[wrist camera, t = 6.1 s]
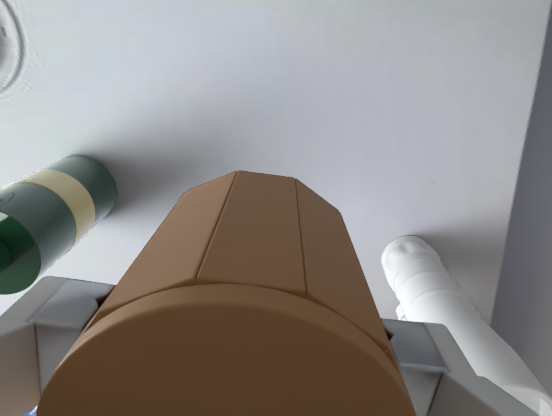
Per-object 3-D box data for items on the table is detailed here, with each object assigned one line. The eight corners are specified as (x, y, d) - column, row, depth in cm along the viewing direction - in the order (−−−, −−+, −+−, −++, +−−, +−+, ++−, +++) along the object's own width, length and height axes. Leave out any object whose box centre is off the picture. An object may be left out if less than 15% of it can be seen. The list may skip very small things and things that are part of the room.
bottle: (45, 150, 34) (-159, 236, 19) (117, 160, 35) (-24, 253, 19) (50, 215, 37) (-129, 342, 21) (117, 225, 37) (-9, 357, 21)
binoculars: (379, 231, 36) (459, 385, 20) (440, 231, 36) (573, 386, 20) (366, 379, 43) (419, 592, 26) (418, 379, 43) (505, 593, 26)
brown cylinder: (157, 159, 10) (14, 275, 5) (373, 187, 11) (475, 331, 5) (152, 338, 12) (45, 568, 7) (334, 359, 13) (375, 601, 7)
